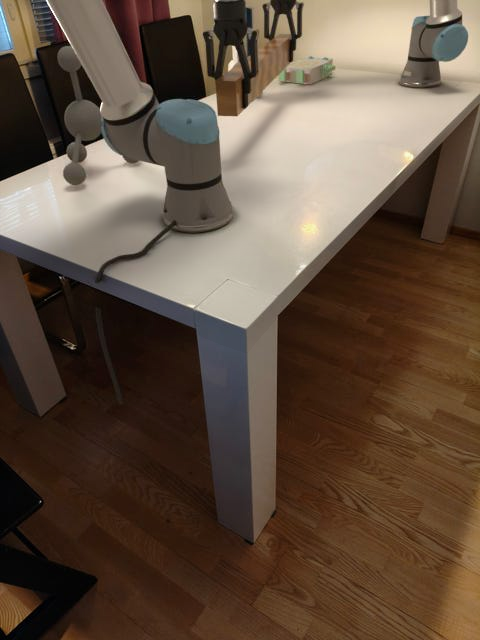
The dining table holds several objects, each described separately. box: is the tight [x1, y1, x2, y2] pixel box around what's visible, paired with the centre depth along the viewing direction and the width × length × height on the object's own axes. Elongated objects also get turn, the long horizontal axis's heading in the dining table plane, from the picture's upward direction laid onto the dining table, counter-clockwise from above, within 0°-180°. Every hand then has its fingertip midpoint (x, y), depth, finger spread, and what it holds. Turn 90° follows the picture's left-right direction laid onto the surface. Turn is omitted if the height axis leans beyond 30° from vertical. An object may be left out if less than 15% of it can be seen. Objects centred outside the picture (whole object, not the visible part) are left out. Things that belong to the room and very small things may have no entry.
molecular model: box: [57, 45, 140, 186], centre depth 125 cm, size 24×22×30 cm
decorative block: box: [277, 55, 336, 85], centre depth 206 cm, size 26×6×20 cm
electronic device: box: [227, 4, 264, 99], centre depth 179 cm, size 12×8×30 cm, turn 105°
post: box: [214, 33, 295, 117], centre depth 145 cm, size 70×5×8 cm, turn 164°
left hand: (234, 106), depth 125 cm, fingers closed on post, 5 cm apart
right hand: (282, 61), depth 169 cm, fingers closed on post, 5 cm apart
